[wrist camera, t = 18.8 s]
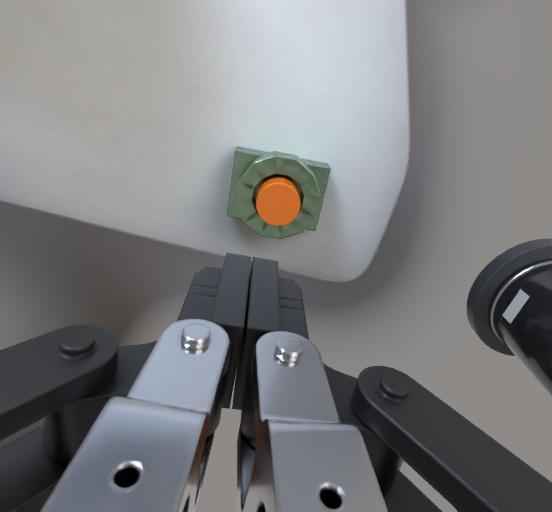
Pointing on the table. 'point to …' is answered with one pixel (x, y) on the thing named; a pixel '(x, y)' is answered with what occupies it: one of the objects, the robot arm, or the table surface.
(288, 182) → the button
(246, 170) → the button box
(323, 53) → the table surface
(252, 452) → the robot arm
